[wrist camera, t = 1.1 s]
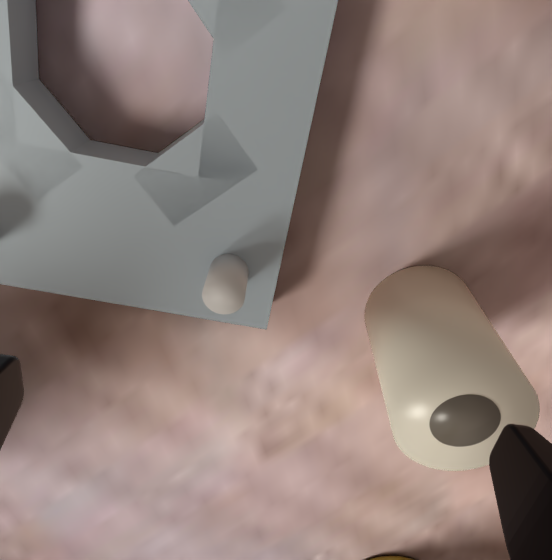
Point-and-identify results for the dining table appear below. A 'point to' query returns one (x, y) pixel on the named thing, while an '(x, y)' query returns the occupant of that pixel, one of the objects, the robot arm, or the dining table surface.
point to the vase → (391, 558)
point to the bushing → (443, 370)
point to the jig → (165, 173)
